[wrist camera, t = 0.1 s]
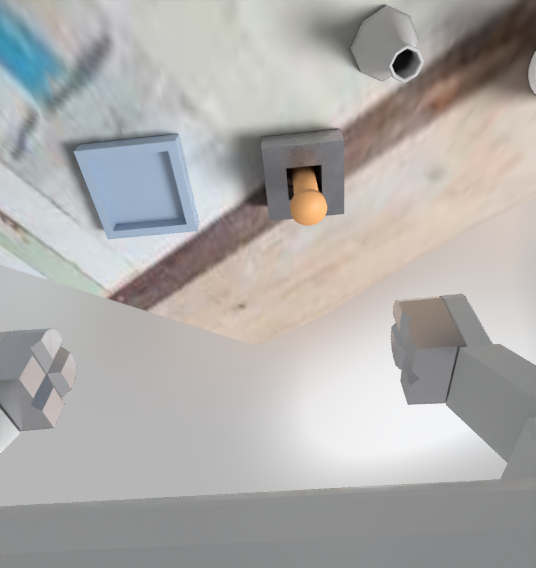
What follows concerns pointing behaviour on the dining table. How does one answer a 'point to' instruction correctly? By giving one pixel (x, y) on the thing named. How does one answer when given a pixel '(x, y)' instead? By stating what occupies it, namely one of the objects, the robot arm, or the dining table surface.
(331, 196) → the metal block with hole
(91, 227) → the dining table surface
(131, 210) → the tray
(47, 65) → the dining table surface
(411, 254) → the dining table surface
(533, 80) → the jar
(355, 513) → the robot arm
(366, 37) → the flask
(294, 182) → the wooden peg
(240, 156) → the dining table surface
